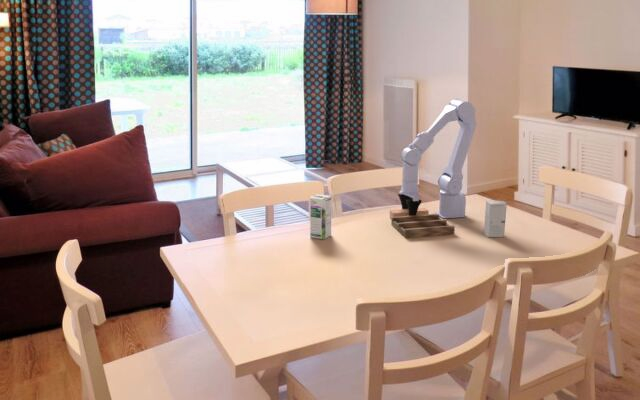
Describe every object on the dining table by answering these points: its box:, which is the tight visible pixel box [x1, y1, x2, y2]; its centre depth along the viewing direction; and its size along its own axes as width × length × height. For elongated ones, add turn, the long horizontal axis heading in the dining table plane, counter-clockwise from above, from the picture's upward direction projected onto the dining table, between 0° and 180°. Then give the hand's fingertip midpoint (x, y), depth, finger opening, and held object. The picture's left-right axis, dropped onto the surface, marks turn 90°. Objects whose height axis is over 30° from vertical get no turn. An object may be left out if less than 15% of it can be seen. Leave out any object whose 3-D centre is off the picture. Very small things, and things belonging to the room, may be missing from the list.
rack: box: [390, 213, 455, 239], centre depth 235 cm, size 18×16×3 cm
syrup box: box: [309, 193, 332, 241], centre depth 227 cm, size 6×6×14 cm
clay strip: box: [389, 207, 430, 220], centre depth 248 cm, size 14×4×4 cm, turn 102°
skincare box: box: [483, 200, 508, 238], centre depth 227 cm, size 6×4×12 cm
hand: (409, 214), depth 248 cm, fingers open, 7 cm apart
